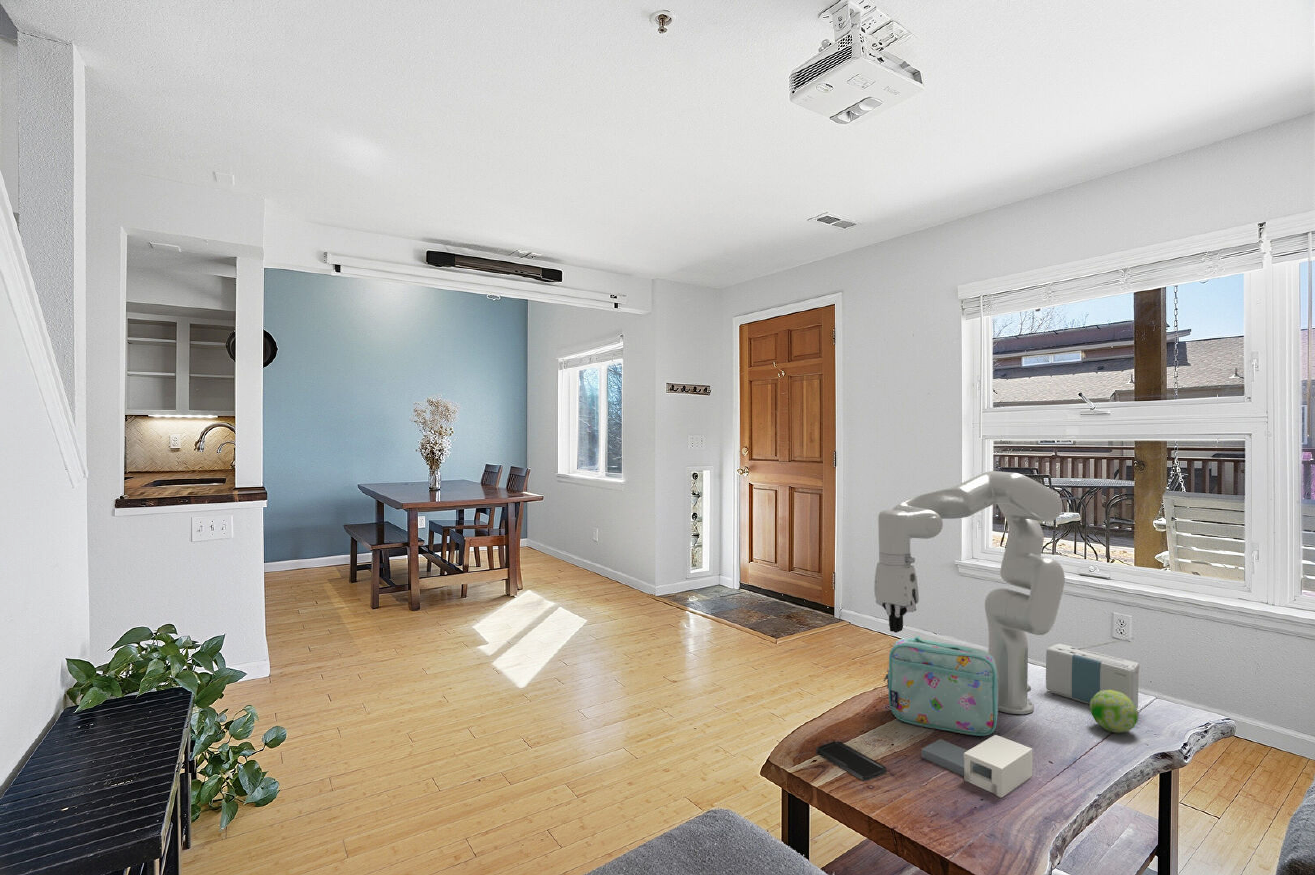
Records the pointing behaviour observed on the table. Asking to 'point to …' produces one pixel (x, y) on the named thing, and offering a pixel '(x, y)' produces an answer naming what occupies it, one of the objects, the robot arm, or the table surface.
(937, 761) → the slate board
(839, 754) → the phone
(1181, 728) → the table surface
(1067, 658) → the stereo radio cassette player
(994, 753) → the white hollow box
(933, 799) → the table surface
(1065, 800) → the table surface
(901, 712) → the lunch box
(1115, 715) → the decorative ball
